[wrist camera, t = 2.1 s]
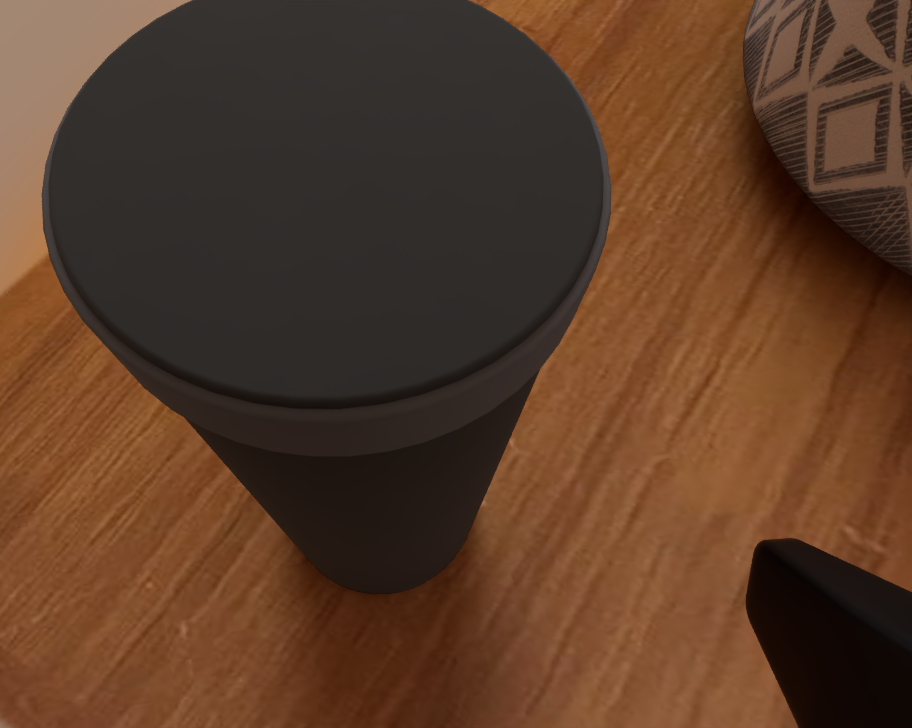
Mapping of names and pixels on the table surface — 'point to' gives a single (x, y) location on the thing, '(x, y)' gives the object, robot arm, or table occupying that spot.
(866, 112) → the planter
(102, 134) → the dark grey cylinder
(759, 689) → the table surface
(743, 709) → the table surface
